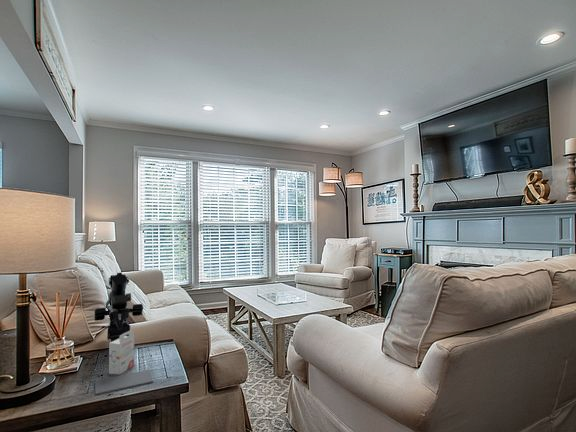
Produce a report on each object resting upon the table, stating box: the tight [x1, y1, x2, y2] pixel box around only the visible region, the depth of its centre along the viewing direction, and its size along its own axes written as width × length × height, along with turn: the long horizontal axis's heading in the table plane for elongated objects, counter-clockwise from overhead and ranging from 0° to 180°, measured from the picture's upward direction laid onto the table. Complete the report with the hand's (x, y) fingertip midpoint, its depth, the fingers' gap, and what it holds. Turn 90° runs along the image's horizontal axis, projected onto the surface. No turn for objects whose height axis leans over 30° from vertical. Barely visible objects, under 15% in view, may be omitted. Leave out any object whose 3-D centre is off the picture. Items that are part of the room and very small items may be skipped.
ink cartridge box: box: [108, 329, 135, 376], centre depth 130 cm, size 9×5×15 cm, turn 168°
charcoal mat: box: [94, 369, 154, 396], centre depth 119 cm, size 11×18×1 cm, turn 121°
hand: (119, 329), depth 140 cm, fingers closed
